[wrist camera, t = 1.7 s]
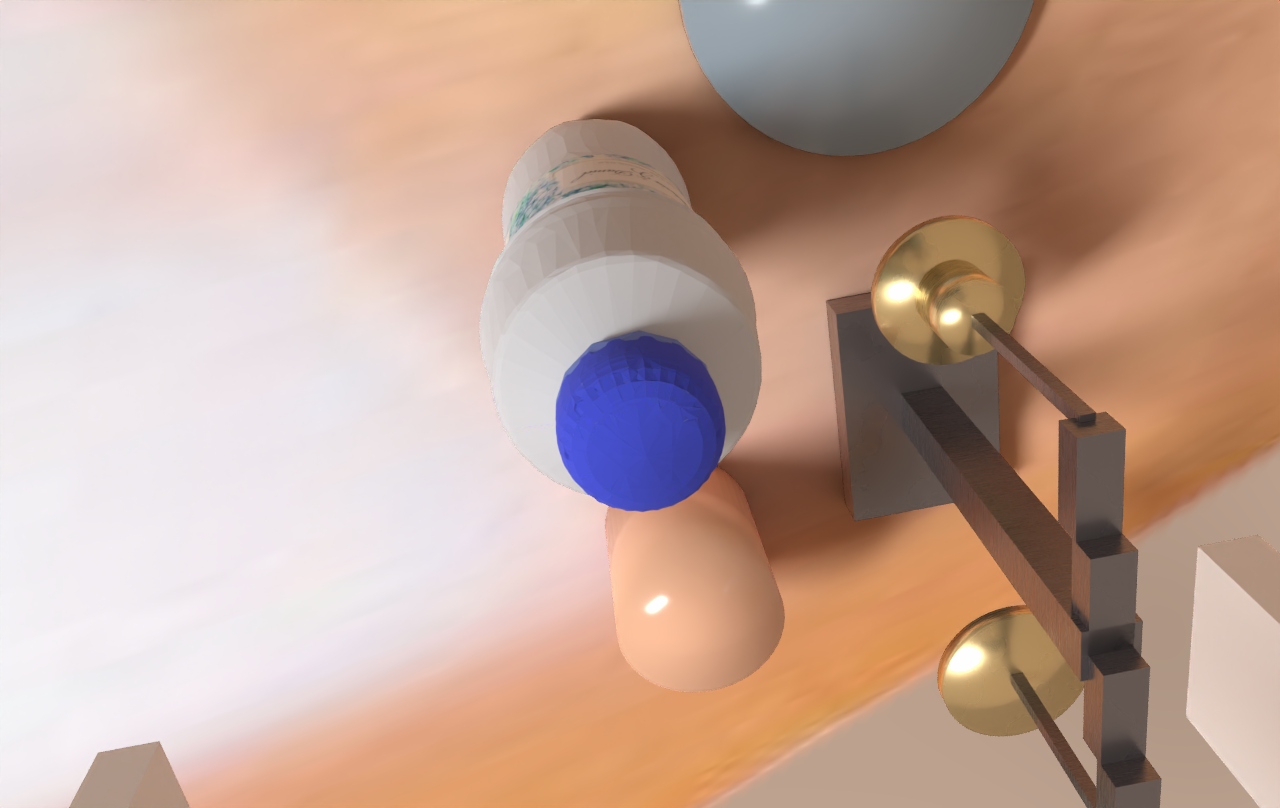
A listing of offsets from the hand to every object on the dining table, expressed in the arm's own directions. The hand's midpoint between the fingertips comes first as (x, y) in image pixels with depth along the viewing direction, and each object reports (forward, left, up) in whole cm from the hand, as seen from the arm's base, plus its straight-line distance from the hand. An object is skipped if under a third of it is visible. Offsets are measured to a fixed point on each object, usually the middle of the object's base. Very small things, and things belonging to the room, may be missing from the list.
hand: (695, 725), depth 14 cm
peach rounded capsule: (+14, +1, -27) cm, 31 cm away
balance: (+10, +11, -27) cm, 31 cm away
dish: (-6, +10, -27) cm, 30 cm away
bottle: (0, 0, -27) cm, 27 cm away
